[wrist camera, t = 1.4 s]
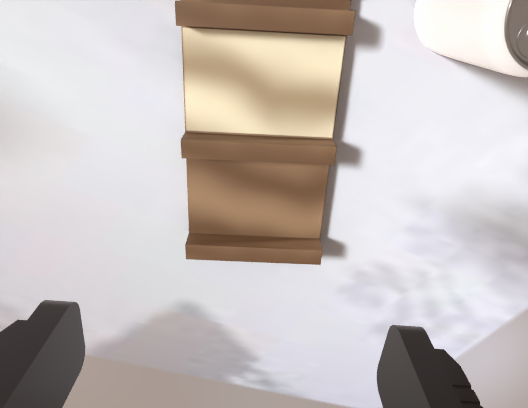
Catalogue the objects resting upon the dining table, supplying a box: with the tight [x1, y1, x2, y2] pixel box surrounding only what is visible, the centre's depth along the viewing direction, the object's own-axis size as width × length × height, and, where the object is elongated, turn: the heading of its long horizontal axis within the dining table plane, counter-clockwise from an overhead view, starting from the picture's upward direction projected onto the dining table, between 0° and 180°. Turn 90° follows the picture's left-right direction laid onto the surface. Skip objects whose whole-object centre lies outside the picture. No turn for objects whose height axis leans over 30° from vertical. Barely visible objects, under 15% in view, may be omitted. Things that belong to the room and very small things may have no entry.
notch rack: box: [175, 0, 355, 265], centre depth 30 cm, size 30×12×3 cm, turn 177°
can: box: [414, 0, 528, 77], centre depth 24 cm, size 6×6×12 cm
